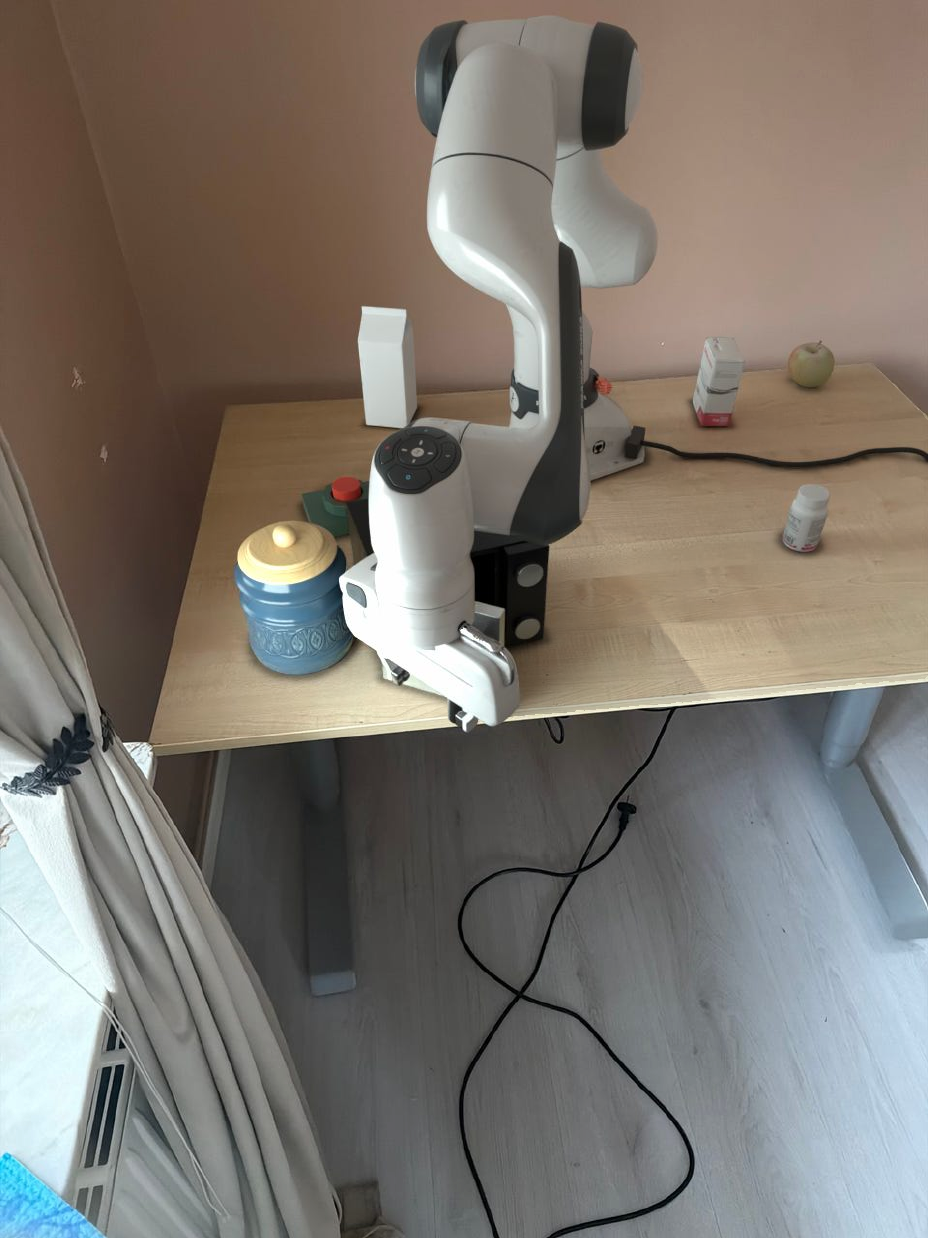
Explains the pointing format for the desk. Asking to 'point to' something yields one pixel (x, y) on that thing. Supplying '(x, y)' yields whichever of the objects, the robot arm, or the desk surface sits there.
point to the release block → (330, 509)
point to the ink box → (718, 381)
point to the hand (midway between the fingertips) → (432, 701)
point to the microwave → (488, 574)
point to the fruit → (811, 364)
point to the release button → (346, 489)
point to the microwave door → (486, 621)
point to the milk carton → (387, 366)
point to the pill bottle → (807, 518)
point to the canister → (293, 597)
